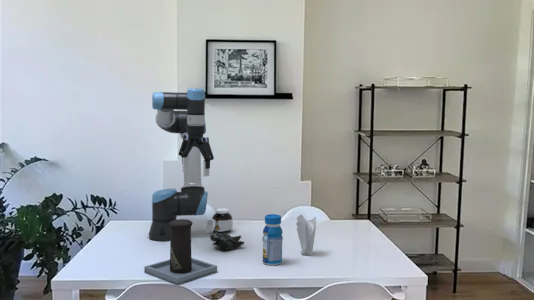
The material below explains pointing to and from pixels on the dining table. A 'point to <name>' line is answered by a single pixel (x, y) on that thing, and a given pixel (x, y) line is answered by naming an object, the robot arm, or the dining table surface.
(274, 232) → the beverage bottle
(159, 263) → the tray
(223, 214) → the spread jar
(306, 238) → the shell sculpture
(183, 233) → the container
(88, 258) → the dining table surface
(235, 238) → the mineral specimen
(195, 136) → the robot arm
